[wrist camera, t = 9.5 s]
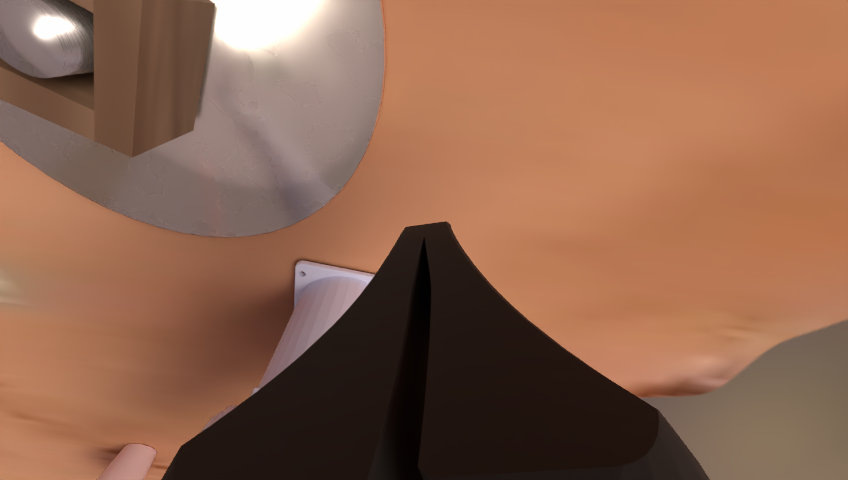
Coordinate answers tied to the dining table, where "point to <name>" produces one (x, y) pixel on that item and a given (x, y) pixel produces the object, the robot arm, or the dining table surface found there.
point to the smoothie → (130, 463)
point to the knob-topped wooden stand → (126, 75)
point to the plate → (241, 124)
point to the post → (46, 37)
